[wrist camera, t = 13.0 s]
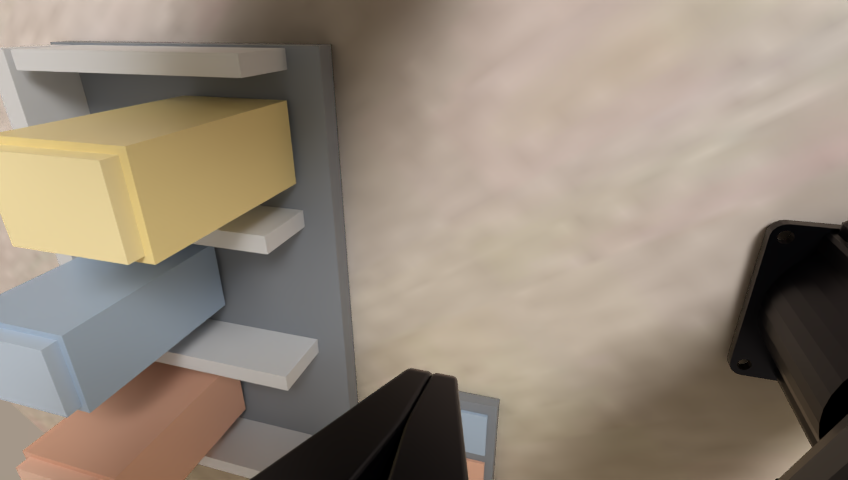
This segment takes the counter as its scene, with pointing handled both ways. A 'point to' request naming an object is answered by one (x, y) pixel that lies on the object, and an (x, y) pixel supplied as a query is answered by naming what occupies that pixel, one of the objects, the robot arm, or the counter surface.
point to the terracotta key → (140, 429)
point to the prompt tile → (479, 434)
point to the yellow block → (142, 176)
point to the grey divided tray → (236, 225)
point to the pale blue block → (99, 326)
